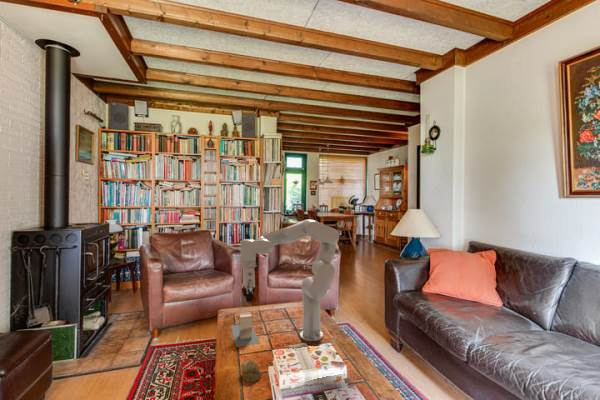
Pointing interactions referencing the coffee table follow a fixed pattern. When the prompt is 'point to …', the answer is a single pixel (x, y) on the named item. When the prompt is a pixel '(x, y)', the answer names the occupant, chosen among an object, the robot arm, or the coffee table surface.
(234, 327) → the rubber mat
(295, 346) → the fossil replica
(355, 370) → the coffee table surface
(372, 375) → the coffee table surface
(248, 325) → the maple block
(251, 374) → the dark olive rounded lump
